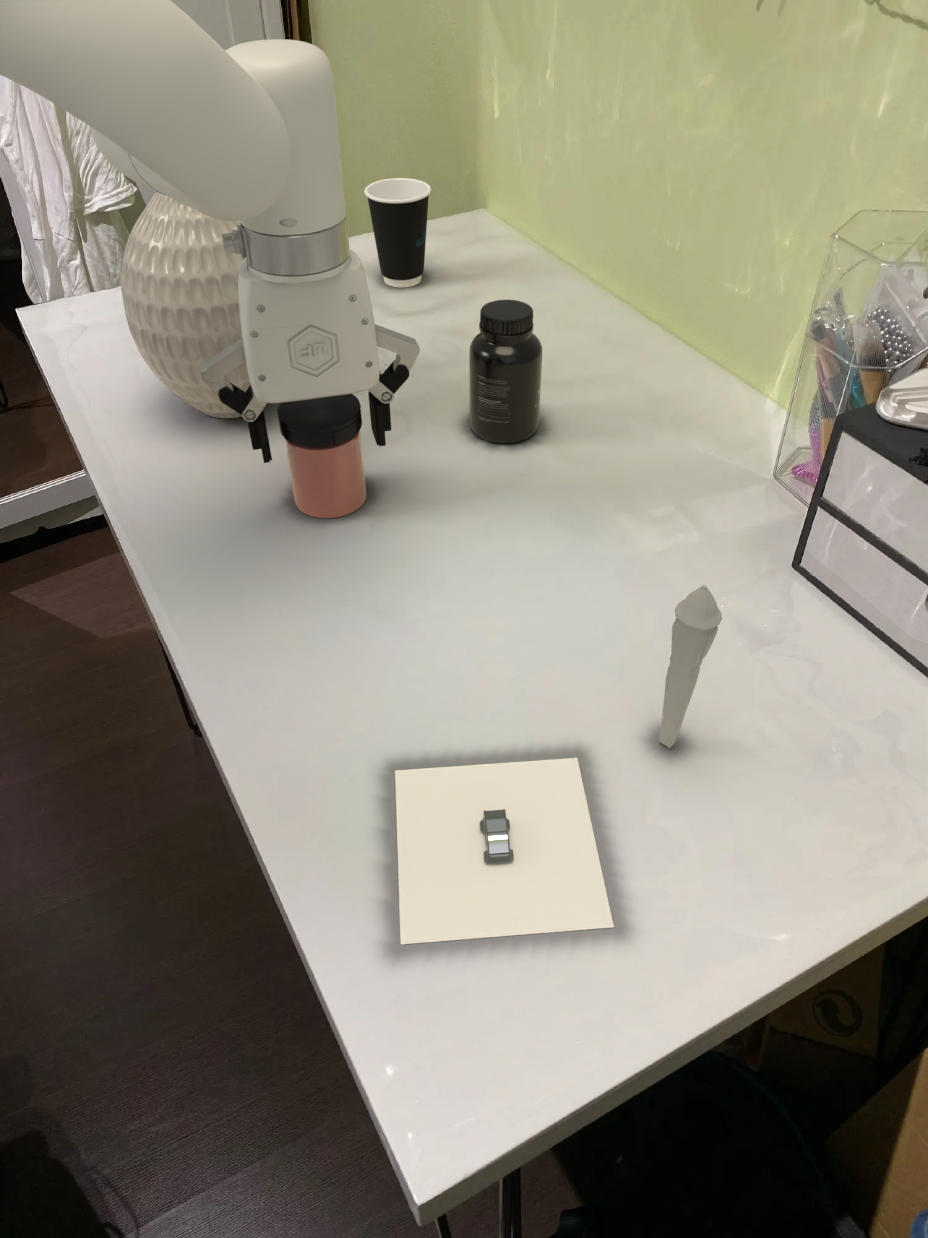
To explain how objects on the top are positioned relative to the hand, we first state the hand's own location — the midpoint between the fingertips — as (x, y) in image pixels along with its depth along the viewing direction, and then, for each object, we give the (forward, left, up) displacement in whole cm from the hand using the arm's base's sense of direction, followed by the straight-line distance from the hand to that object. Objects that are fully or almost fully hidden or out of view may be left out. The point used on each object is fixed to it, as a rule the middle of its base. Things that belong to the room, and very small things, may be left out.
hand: (323, 445), depth 77 cm
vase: (-8, +19, -6) cm, 21 cm away
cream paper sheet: (+6, -38, -6) cm, 39 cm away
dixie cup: (+14, +45, -6) cm, 48 cm away
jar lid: (0, 0, +3) cm, 3 cm away
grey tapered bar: (+19, -33, -6) cm, 39 cm away
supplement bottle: (+18, +8, -6) cm, 21 cm away
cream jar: (0, 0, -5) cm, 5 cm away
